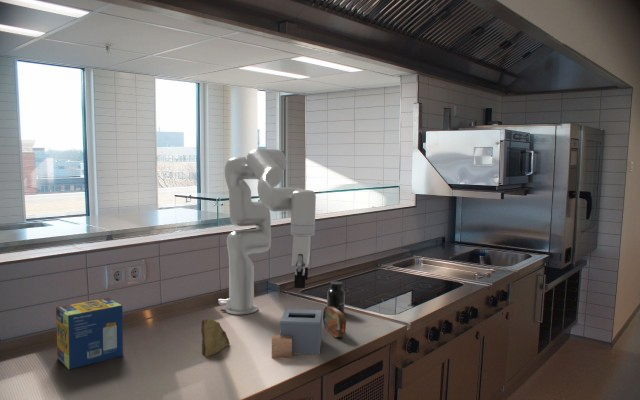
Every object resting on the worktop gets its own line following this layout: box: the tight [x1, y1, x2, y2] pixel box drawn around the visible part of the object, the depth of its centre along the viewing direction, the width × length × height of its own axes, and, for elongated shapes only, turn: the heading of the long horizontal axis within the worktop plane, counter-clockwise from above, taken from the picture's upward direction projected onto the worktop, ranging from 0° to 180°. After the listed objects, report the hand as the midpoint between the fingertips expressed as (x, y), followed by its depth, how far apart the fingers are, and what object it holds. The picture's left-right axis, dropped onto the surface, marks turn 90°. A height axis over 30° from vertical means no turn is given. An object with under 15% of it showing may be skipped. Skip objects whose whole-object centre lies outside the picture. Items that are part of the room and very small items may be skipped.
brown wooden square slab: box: [271, 334, 293, 359], centre depth 143 cm, size 2×6×6 cm, turn 87°
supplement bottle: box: [326, 281, 346, 315], centre depth 185 cm, size 7×7×12 cm
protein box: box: [55, 297, 124, 370], centre depth 140 cm, size 10×15×16 cm
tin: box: [322, 305, 347, 338], centre depth 163 cm, size 15×3×8 cm, turn 21°
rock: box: [200, 318, 230, 358], centre depth 147 cm, size 11×9×10 cm
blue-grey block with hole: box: [279, 308, 323, 355], centre depth 151 cm, size 12×12×10 cm
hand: (301, 283), depth 150 cm, fingers open, 9 cm apart
